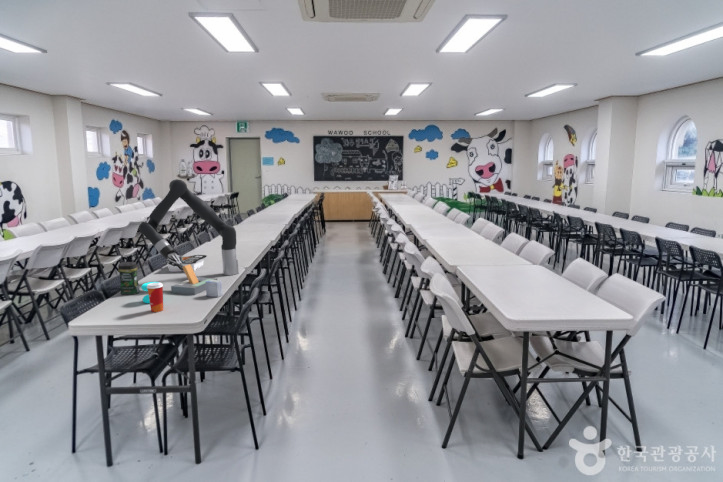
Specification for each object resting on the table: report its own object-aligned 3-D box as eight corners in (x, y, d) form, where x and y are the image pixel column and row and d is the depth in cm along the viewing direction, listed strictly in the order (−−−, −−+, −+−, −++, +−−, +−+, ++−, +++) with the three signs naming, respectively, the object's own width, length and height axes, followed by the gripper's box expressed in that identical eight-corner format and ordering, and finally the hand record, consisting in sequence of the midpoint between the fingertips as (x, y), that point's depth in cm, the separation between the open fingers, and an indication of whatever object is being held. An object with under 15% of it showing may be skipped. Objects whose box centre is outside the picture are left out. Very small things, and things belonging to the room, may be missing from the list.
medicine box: (223, 295, 257) (221, 280, 256) (218, 297, 253) (217, 282, 252) (211, 294, 260) (210, 279, 259) (206, 296, 256) (205, 281, 254)
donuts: (153, 280, 254) (164, 282, 248) (155, 297, 255) (166, 300, 250) (136, 284, 245) (148, 286, 240) (138, 302, 247) (149, 305, 242)
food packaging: (176, 255, 336) (207, 254, 336) (177, 265, 337) (207, 264, 338) (162, 262, 311) (195, 262, 312) (163, 273, 313) (196, 272, 313)
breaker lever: (191, 285, 269) (182, 267, 269) (196, 283, 274) (187, 265, 274) (193, 284, 269) (184, 266, 268) (198, 282, 273) (190, 264, 273)
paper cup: (152, 308, 236) (149, 282, 233) (167, 307, 237) (165, 281, 234) (146, 313, 228) (143, 286, 226) (162, 312, 229) (159, 285, 226)
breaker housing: (171, 292, 264) (170, 285, 263) (195, 283, 284) (195, 276, 284) (194, 294, 259) (194, 287, 258) (217, 284, 280) (217, 278, 279)
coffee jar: (118, 295, 261) (114, 263, 258) (125, 291, 269) (122, 260, 265) (135, 295, 261) (132, 263, 257) (142, 291, 268) (138, 260, 265)
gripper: (160, 246, 266) (179, 267, 264) (175, 242, 278) (194, 263, 277) (153, 254, 268) (172, 276, 267) (169, 250, 281) (187, 271, 279)
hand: (183, 269), depth 272 cm, fingers closed
